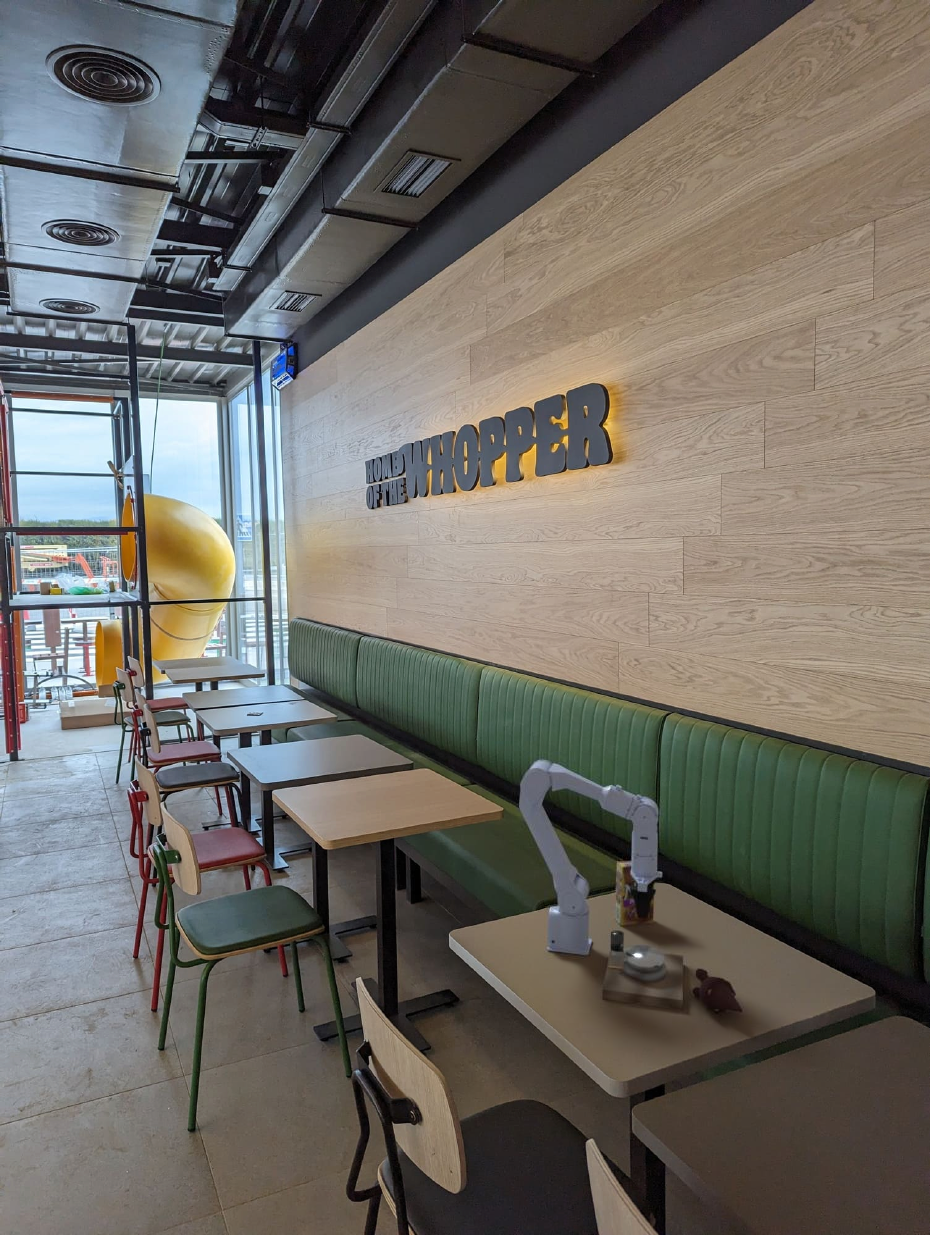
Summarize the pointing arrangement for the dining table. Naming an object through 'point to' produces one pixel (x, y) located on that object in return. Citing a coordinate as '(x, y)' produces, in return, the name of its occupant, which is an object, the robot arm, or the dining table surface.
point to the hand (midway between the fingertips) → (643, 911)
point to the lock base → (645, 983)
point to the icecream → (716, 993)
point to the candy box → (628, 897)
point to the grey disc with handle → (637, 954)
